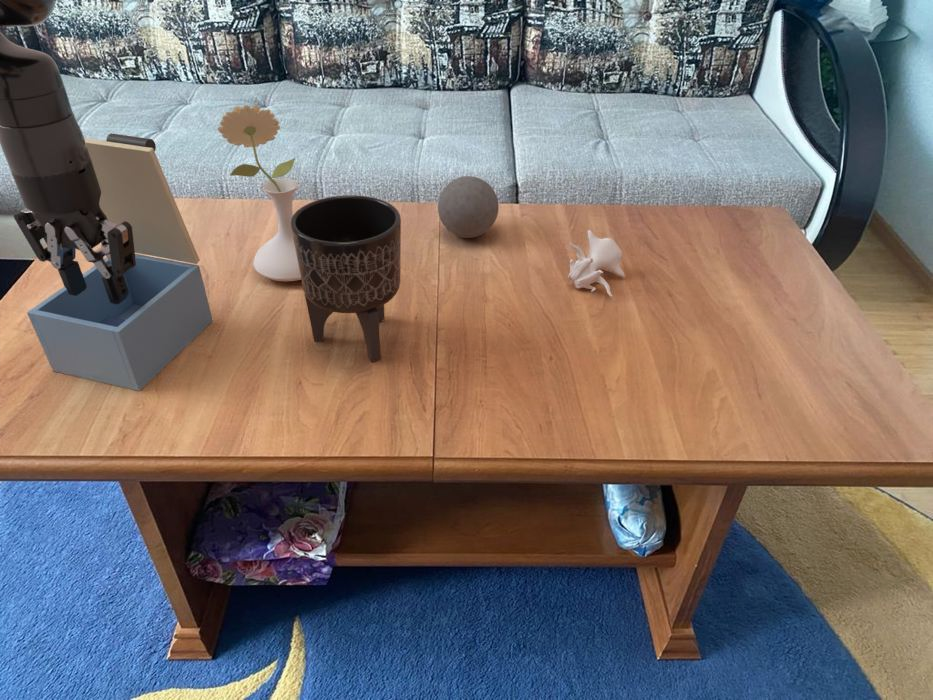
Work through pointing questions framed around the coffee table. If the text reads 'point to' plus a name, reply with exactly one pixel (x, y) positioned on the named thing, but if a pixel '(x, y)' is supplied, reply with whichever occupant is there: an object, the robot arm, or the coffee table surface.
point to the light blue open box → (124, 323)
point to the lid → (140, 196)
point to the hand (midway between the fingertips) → (99, 295)
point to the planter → (348, 261)
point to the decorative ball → (468, 207)
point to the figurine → (595, 263)
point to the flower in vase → (266, 188)
